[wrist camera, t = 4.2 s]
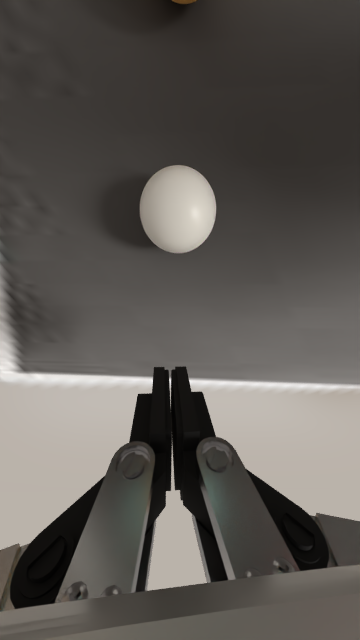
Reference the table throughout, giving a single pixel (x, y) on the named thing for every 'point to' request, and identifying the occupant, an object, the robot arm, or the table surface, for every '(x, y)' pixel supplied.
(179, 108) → the table surface
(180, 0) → the orange ball
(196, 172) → the white ball
